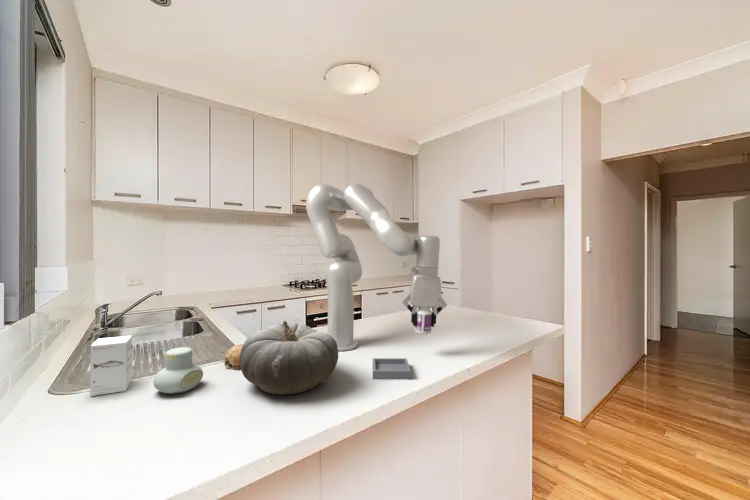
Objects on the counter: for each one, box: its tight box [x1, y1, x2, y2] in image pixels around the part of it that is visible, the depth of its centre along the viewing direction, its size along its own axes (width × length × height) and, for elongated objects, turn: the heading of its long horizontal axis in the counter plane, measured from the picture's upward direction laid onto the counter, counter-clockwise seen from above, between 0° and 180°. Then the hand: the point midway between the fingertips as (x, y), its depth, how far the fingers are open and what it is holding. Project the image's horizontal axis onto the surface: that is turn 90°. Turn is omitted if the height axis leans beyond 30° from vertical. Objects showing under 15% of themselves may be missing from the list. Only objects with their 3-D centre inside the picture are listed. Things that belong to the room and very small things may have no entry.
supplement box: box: [89, 335, 133, 397], centre depth 85 cm, size 7×7×13 cm
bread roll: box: [223, 343, 244, 371], centre depth 103 cm, size 10×10×8 cm
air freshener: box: [152, 346, 204, 395], centre depth 85 cm, size 11×8×10 cm
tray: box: [372, 357, 412, 380], centre depth 98 cm, size 11×11×2 cm
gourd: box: [240, 320, 339, 396], centre depth 89 cm, size 25×25×17 cm
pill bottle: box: [414, 306, 433, 335], centre depth 112 cm, size 5×5×10 cm
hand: (423, 324), depth 112 cm, fingers closed on pill bottle, 5 cm apart
